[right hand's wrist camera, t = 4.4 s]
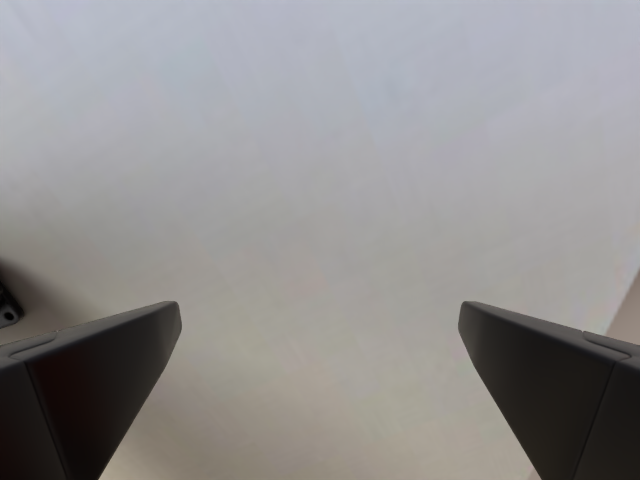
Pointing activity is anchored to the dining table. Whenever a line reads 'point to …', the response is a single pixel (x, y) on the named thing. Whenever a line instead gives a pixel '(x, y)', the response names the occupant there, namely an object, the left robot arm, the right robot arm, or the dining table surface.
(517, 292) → the dining table surface
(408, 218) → the dining table surface
